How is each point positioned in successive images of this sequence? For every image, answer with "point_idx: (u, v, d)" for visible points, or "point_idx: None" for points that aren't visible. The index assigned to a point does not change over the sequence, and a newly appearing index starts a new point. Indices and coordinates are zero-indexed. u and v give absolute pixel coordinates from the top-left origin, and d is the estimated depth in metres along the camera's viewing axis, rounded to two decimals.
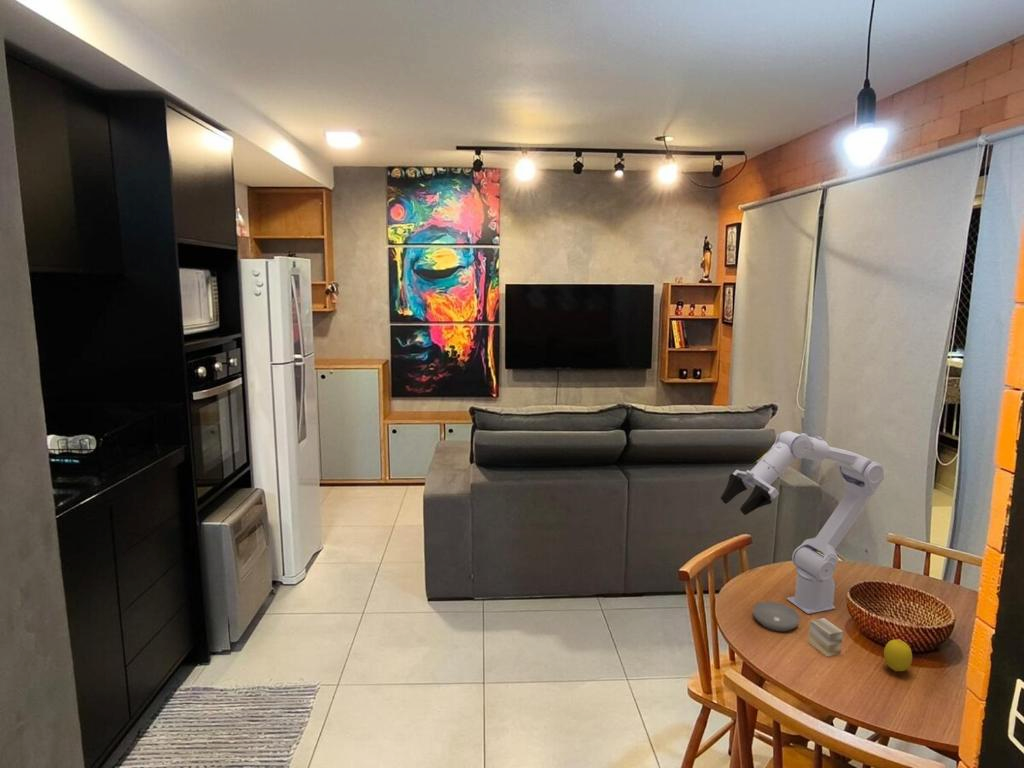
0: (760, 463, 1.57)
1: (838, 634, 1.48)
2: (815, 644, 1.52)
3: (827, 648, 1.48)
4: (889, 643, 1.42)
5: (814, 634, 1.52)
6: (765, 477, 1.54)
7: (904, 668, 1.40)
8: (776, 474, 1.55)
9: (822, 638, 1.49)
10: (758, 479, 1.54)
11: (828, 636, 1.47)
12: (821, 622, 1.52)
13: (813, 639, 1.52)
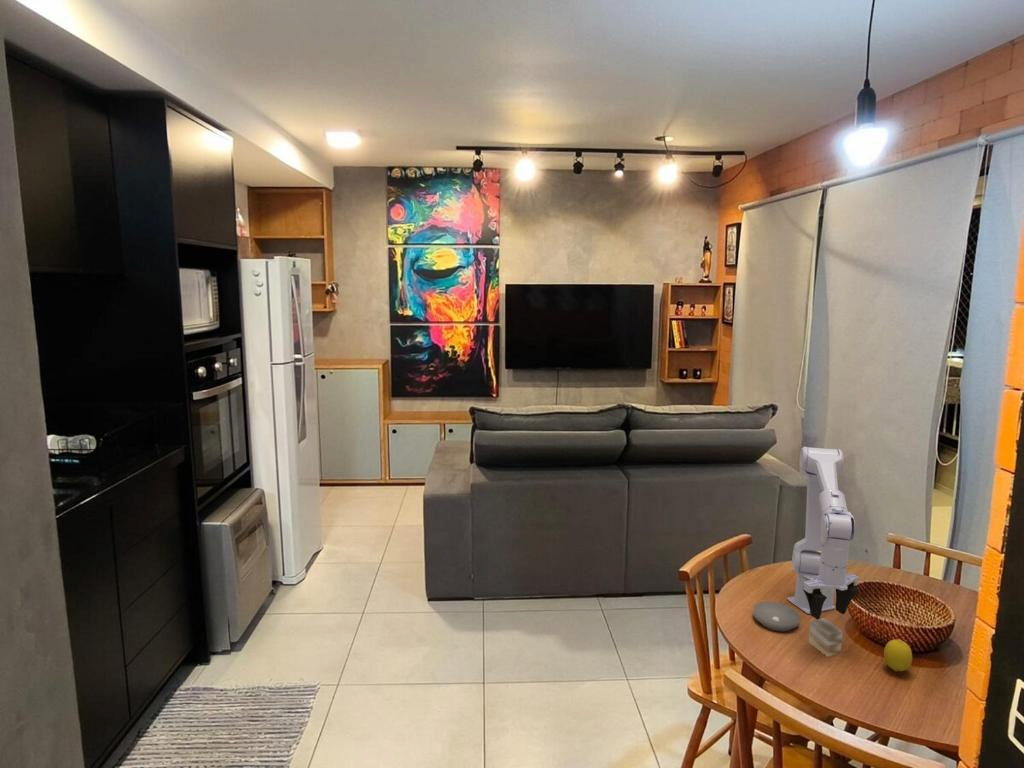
0: (841, 571, 1.45)
1: (838, 634, 1.48)
2: (815, 644, 1.52)
3: (827, 648, 1.48)
4: (889, 643, 1.42)
5: (814, 634, 1.52)
6: None
7: (904, 668, 1.40)
8: None
9: (822, 638, 1.49)
10: (847, 584, 1.47)
11: (828, 636, 1.47)
12: (821, 622, 1.52)
13: (813, 639, 1.52)
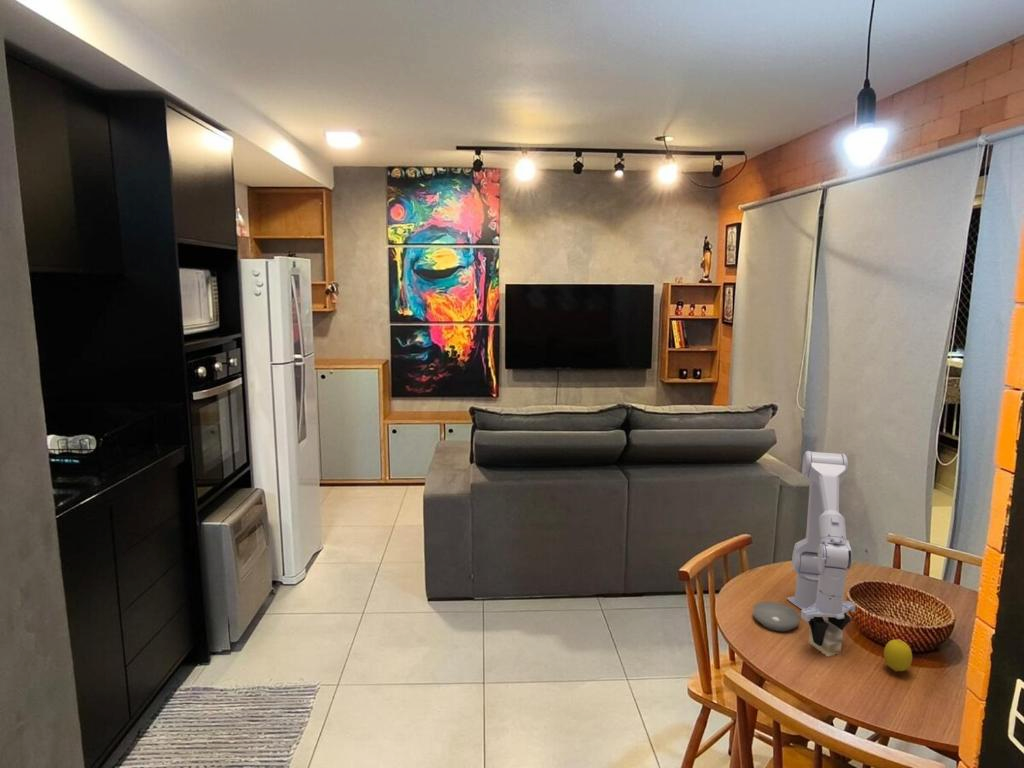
0: (838, 600, 1.46)
1: (838, 634, 1.48)
2: (815, 644, 1.51)
3: (827, 648, 1.48)
4: (889, 643, 1.42)
5: None
6: None
7: (904, 668, 1.40)
8: None
9: None
10: (844, 612, 1.48)
11: (828, 636, 1.47)
12: None
13: None
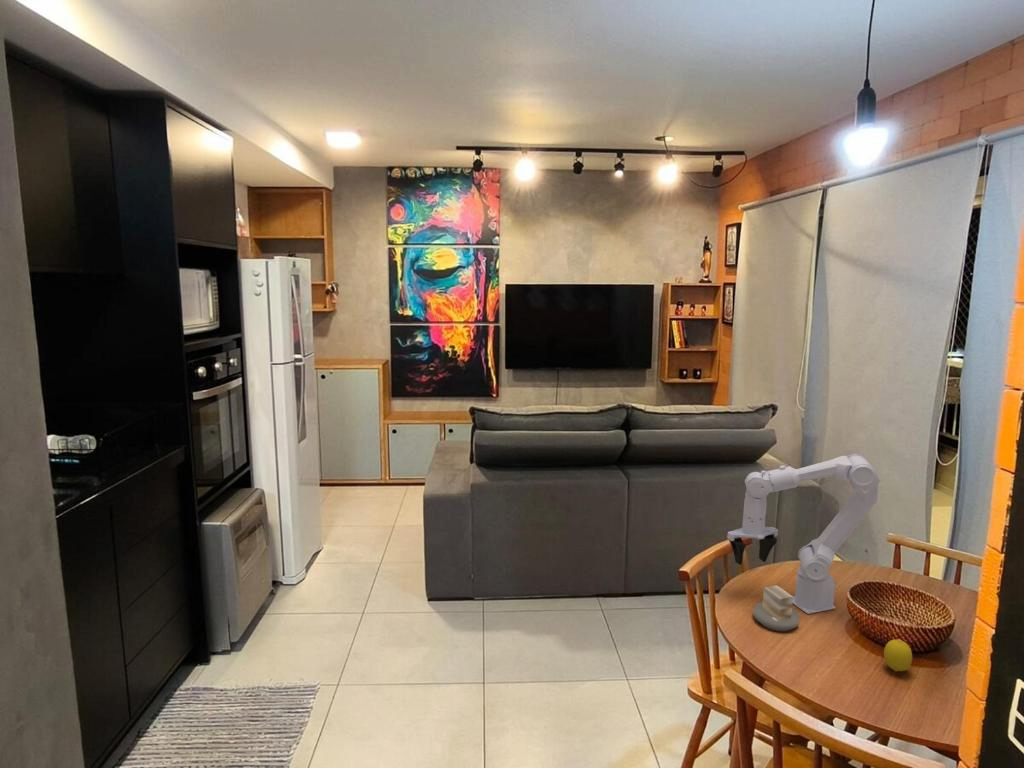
0: (759, 522, 1.68)
1: (789, 599, 1.58)
2: (768, 609, 1.62)
3: (778, 612, 1.59)
4: (889, 643, 1.42)
5: (767, 600, 1.62)
6: None
7: (904, 668, 1.40)
8: None
9: (774, 603, 1.60)
10: (766, 534, 1.70)
11: (779, 601, 1.58)
12: (773, 588, 1.63)
13: (766, 605, 1.63)
